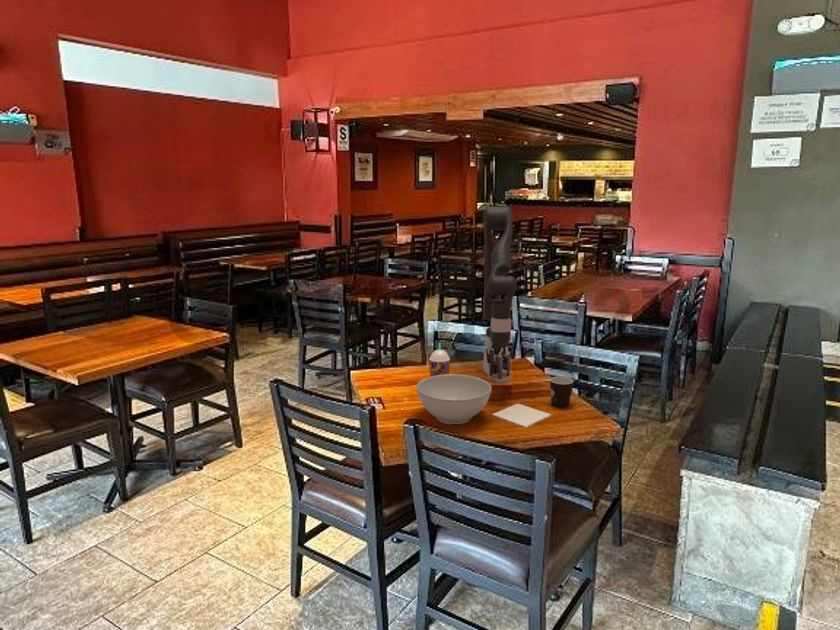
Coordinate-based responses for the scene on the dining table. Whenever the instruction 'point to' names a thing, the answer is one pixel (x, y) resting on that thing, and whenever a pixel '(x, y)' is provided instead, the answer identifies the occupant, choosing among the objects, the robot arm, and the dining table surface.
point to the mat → (521, 415)
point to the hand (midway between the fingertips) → (499, 371)
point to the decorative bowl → (453, 396)
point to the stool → (500, 372)
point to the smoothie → (439, 362)
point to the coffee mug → (560, 391)
